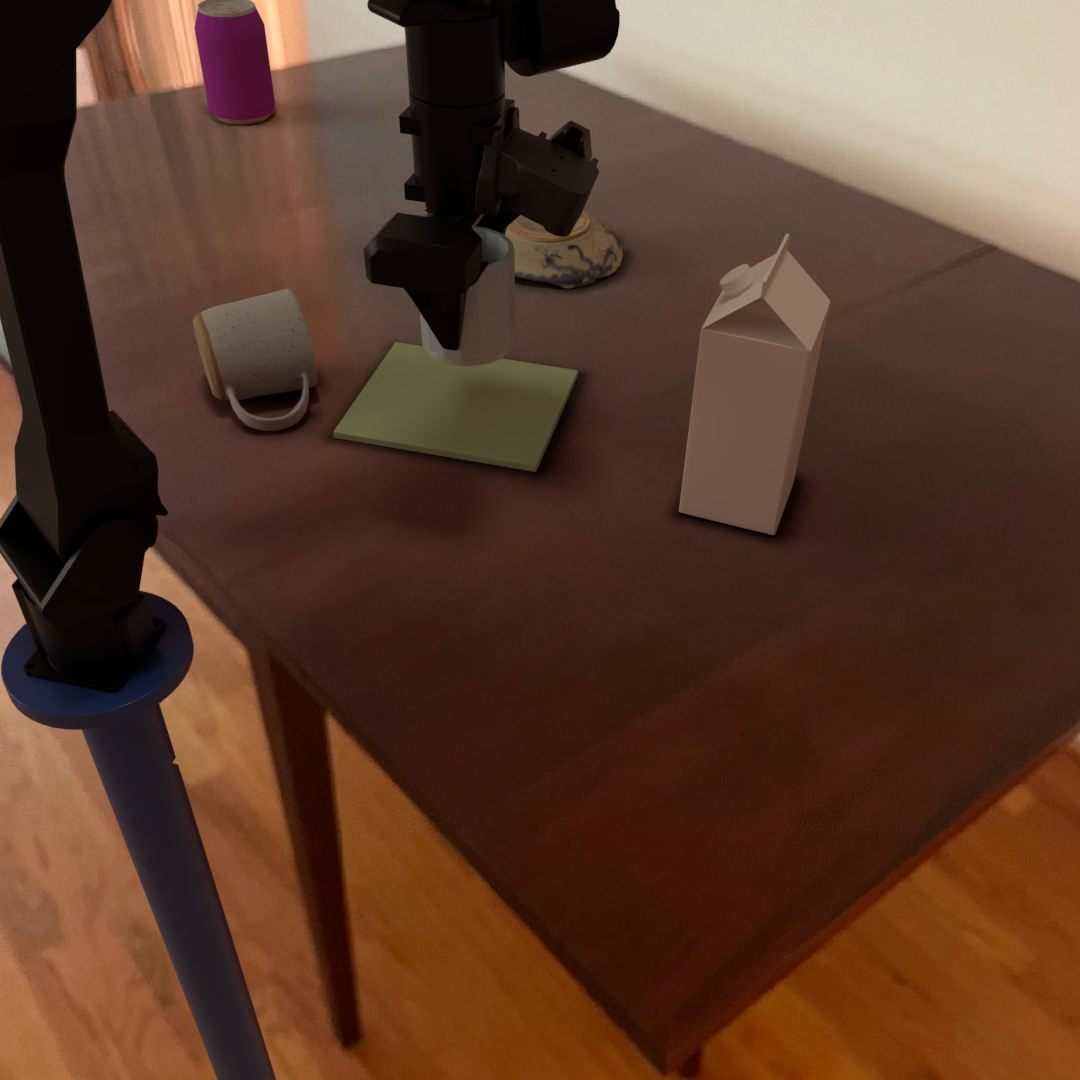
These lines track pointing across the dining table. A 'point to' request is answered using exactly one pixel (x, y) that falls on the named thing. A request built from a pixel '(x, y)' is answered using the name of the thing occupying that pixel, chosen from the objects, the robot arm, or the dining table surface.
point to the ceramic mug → (257, 353)
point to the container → (484, 309)
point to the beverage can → (234, 61)
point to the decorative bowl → (564, 252)
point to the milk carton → (753, 393)
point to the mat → (460, 408)
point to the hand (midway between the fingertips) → (466, 324)
